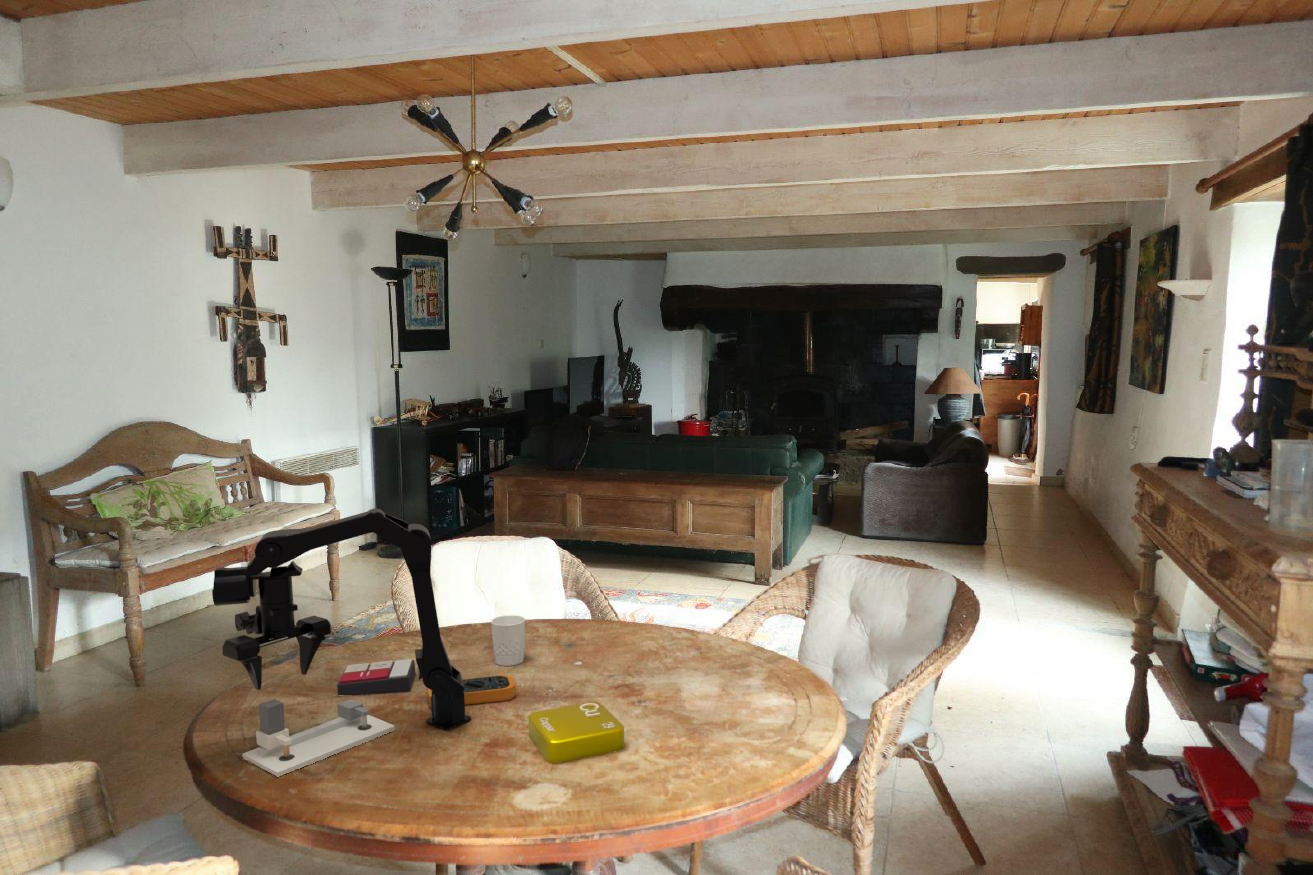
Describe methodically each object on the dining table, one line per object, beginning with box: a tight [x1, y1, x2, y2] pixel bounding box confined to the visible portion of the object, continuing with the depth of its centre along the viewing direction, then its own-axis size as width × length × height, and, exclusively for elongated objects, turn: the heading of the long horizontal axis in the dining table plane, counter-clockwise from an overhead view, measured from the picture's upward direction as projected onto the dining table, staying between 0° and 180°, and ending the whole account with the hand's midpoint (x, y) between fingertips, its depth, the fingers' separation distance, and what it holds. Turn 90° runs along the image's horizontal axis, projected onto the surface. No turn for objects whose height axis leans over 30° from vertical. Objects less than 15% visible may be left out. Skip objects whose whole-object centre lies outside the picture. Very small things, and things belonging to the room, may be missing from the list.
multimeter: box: [426, 674, 517, 709], centre depth 188 cm, size 9×18×3 cm, turn 107°
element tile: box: [527, 701, 625, 764], centre depth 167 cm, size 15×15×5 cm
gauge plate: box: [241, 698, 396, 778], centre depth 166 cm, size 12×24×5 cm, turn 142°
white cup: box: [490, 614, 526, 667], centre depth 210 cm, size 8×8×10 cm
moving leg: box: [255, 698, 292, 757], centre depth 160 cm, size 7×4×8 cm, turn 52°
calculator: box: [336, 658, 416, 696], centre depth 196 cm, size 11×4×15 cm
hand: (281, 681), depth 166 cm, fingers open, 9 cm apart
